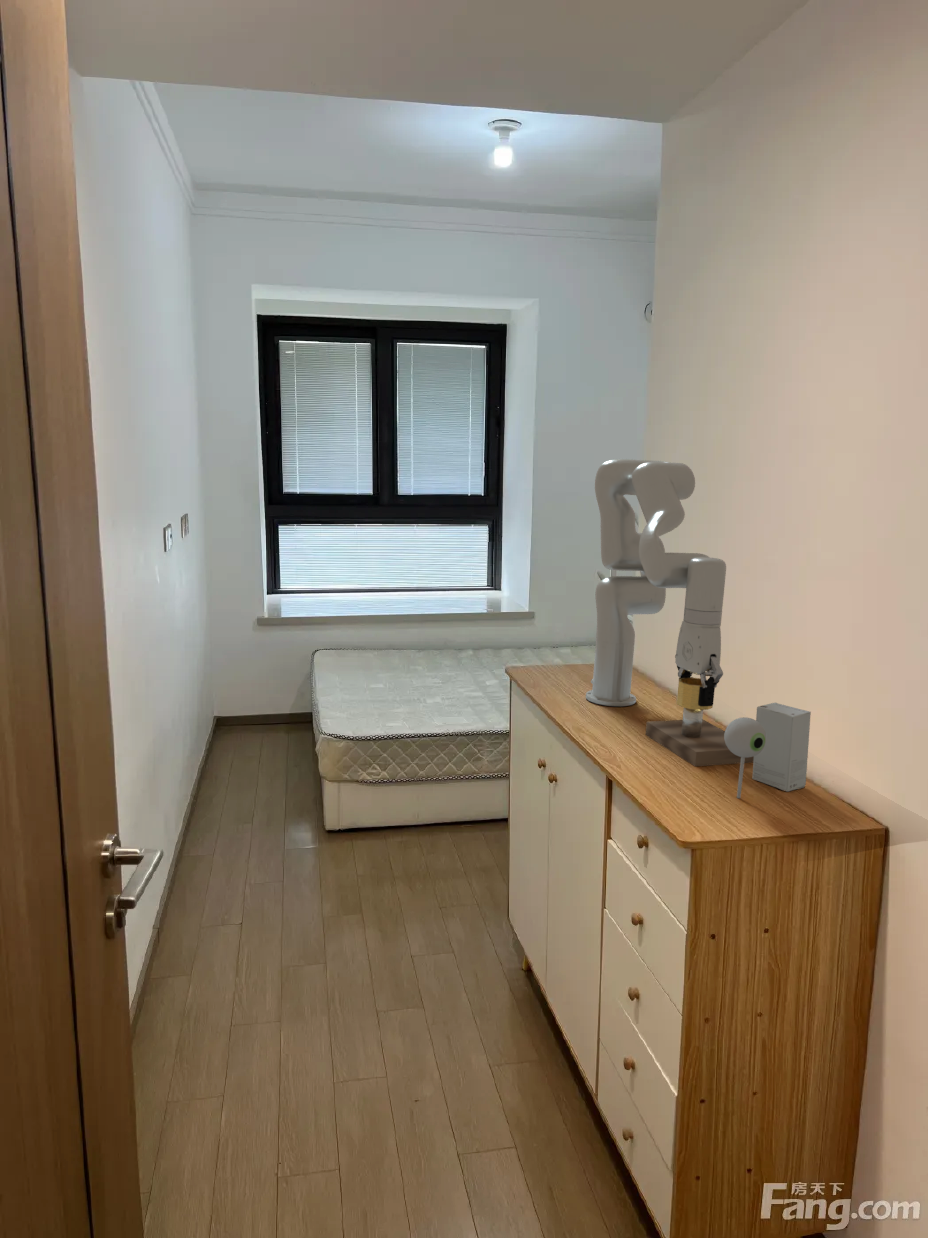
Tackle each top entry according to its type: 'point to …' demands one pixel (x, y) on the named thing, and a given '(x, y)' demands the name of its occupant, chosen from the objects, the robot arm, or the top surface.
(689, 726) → the piston post
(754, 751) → the lollipop
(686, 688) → the brass ring
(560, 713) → the top surface
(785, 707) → the skincare box
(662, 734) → the walnut stand
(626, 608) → the robot arm
